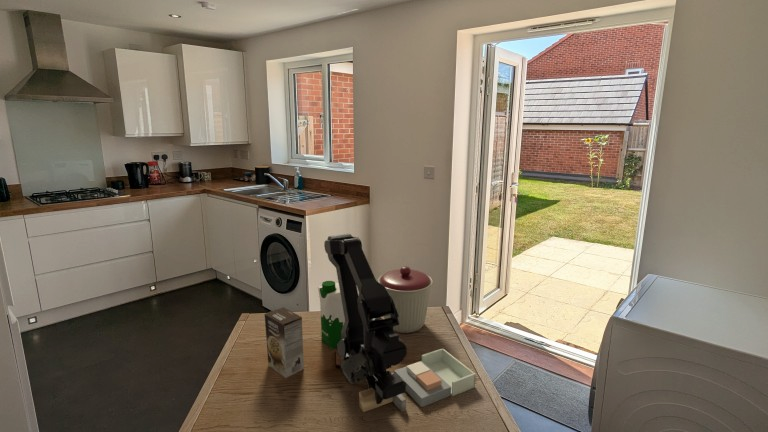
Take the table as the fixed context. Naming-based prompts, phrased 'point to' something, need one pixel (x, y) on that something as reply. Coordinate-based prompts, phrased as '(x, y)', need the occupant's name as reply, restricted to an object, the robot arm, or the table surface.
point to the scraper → (369, 402)
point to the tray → (450, 370)
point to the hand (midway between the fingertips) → (376, 400)
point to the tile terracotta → (429, 380)
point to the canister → (408, 297)
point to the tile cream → (417, 369)
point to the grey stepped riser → (421, 393)
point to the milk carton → (331, 313)
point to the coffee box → (284, 341)
